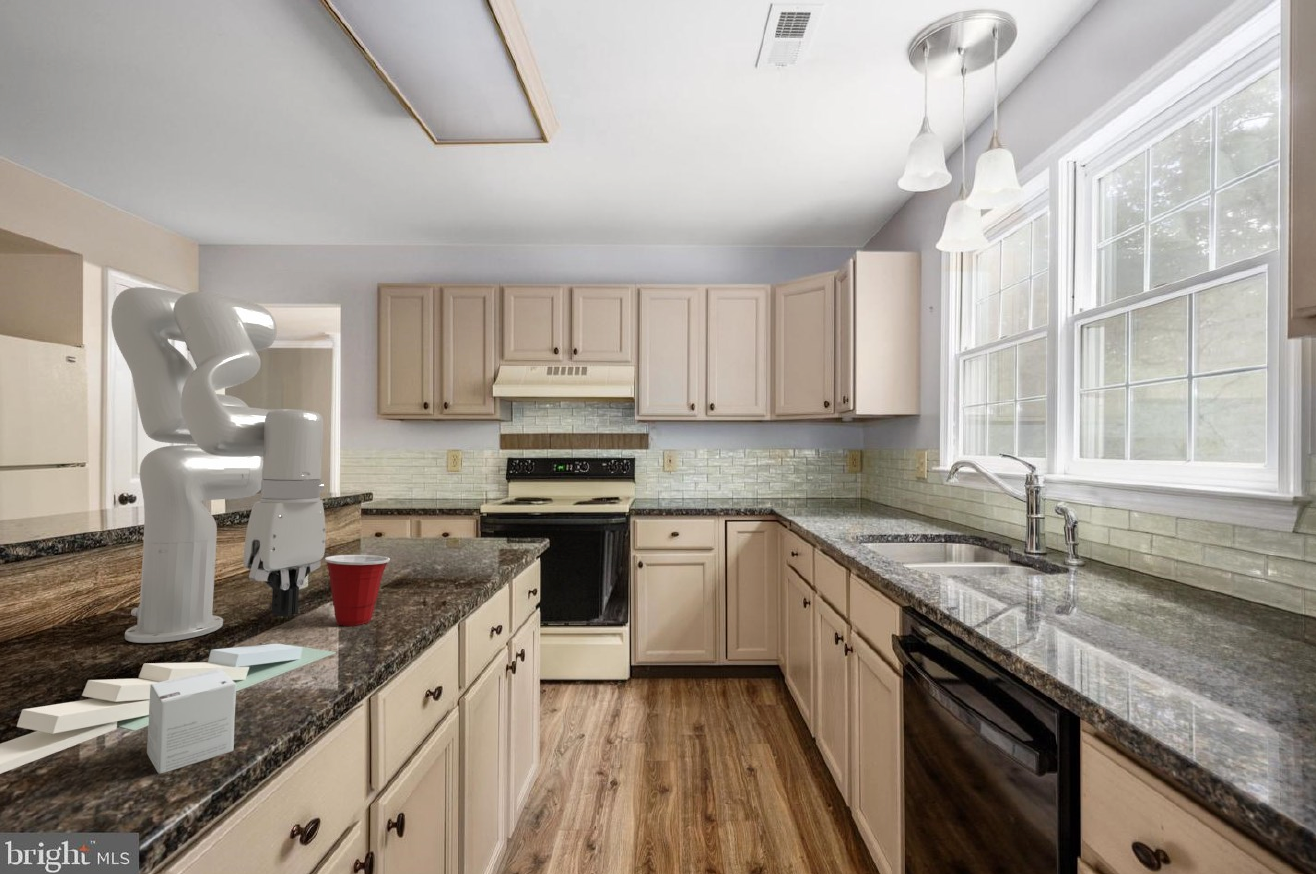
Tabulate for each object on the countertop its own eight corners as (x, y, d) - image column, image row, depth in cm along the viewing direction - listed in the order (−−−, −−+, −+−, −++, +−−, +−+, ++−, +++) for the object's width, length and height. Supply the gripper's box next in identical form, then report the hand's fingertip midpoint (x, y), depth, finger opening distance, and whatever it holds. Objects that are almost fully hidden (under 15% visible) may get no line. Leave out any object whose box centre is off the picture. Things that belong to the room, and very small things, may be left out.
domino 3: (171, 690, 72) (81, 695, 63) (176, 677, 72) (88, 680, 63) (201, 695, 71) (115, 701, 61) (206, 681, 71) (121, 685, 62)
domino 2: (84, 728, 63) (-47, 776, 53) (85, 714, 63) (-45, 759, 54) (116, 735, 62) (-13, 786, 52) (117, 720, 62) (-12, 768, 52)
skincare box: (218, 734, 62) (221, 666, 62) (234, 754, 58) (238, 681, 58) (144, 756, 57) (148, 682, 58) (156, 778, 53) (161, 700, 54)
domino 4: (218, 674, 77) (138, 677, 68) (222, 662, 78) (143, 663, 69) (245, 679, 76) (167, 683, 67) (249, 667, 76) (172, 669, 67)
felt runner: (75, 718, 64) (75, 715, 64) (287, 646, 90) (287, 644, 90) (134, 733, 62) (134, 730, 62) (336, 654, 87) (336, 652, 87)
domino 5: (274, 654, 85) (207, 662, 76) (277, 643, 86) (211, 649, 76) (300, 659, 84) (235, 667, 74) (302, 647, 84) (238, 654, 75)
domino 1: (124, 707, 67) (16, 726, 57) (128, 693, 67) (22, 709, 58) (157, 713, 66) (52, 733, 56) (161, 698, 66) (58, 716, 57)
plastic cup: (399, 619, 106) (402, 555, 106) (341, 634, 96) (345, 564, 97) (367, 610, 111) (370, 549, 112) (309, 622, 102) (313, 556, 103)
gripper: (315, 488, 93) (309, 600, 92) (221, 492, 78) (214, 625, 78) (351, 490, 91) (345, 605, 90) (262, 495, 76) (254, 631, 76)
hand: (284, 614), depth 84 cm, fingers closed
